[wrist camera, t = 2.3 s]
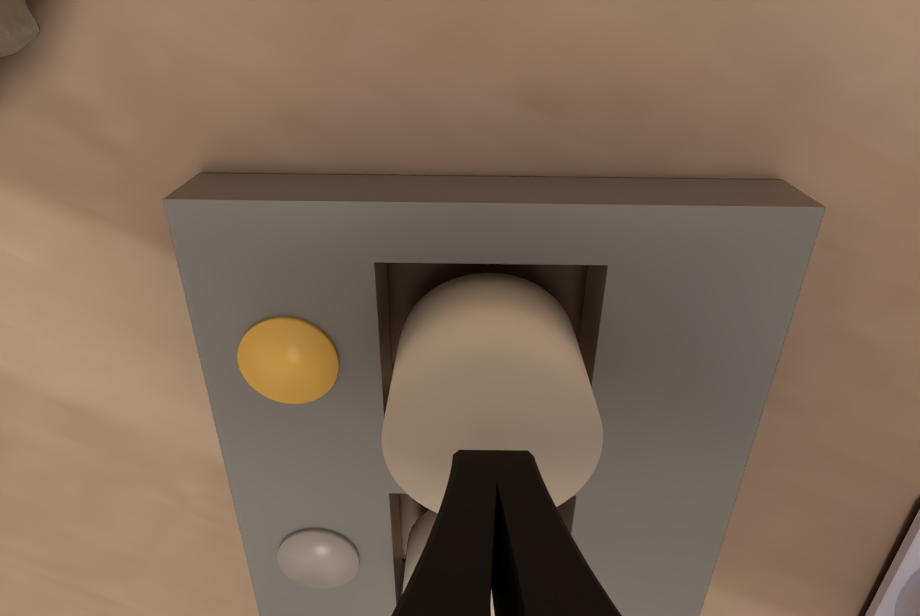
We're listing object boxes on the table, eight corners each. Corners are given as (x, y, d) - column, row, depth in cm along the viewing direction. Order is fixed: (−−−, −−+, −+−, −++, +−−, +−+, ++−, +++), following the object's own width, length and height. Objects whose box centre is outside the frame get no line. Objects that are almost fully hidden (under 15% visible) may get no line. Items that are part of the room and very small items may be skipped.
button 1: (585, 273, 14) (617, 353, 11) (567, 424, 16) (590, 525, 13) (394, 271, 14) (374, 350, 11) (401, 421, 16) (387, 522, 13)
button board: (782, 179, 14) (830, 210, 13) (642, 702, 25) (657, 763, 23) (199, 173, 15) (158, 202, 13) (303, 696, 25) (290, 756, 23)
